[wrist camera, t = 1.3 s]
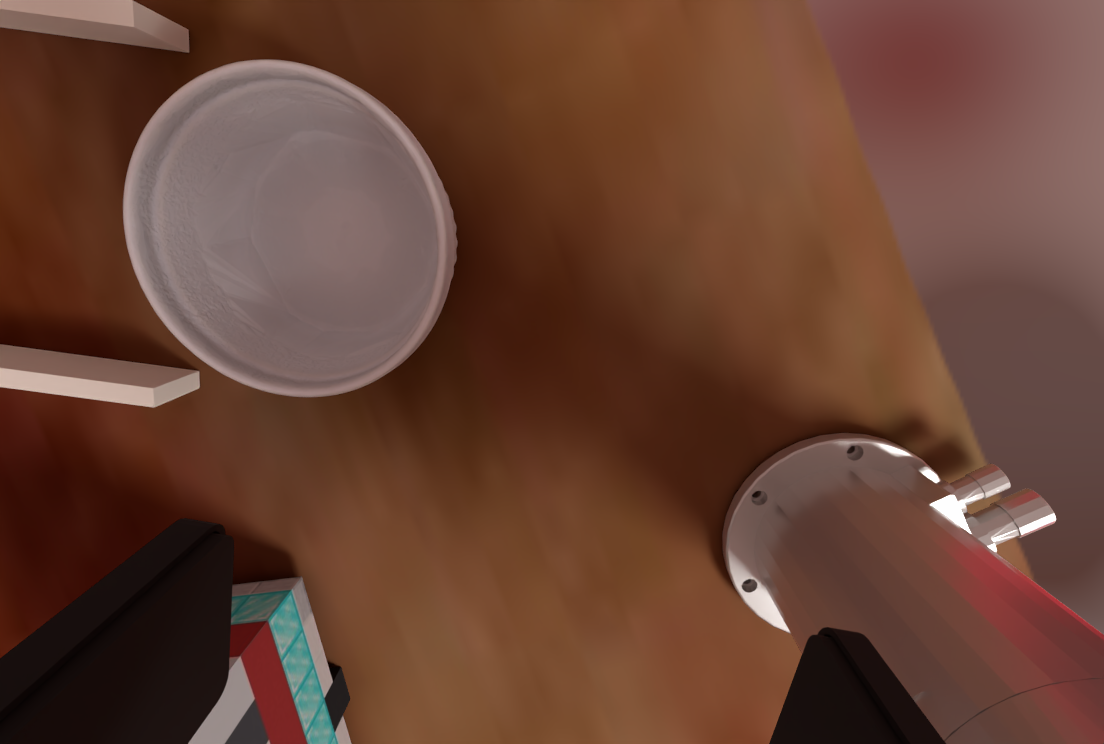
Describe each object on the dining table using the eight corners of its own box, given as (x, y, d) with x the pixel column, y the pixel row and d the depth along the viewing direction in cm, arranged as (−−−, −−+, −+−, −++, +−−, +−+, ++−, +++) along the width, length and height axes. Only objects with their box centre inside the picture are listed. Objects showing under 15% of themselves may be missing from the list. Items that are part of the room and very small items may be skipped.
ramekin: (511, 320, 30) (494, 346, 23) (290, 392, 31) (213, 437, 24) (420, 60, 27) (369, 2, 20) (180, 153, 28) (56, 129, 21)
